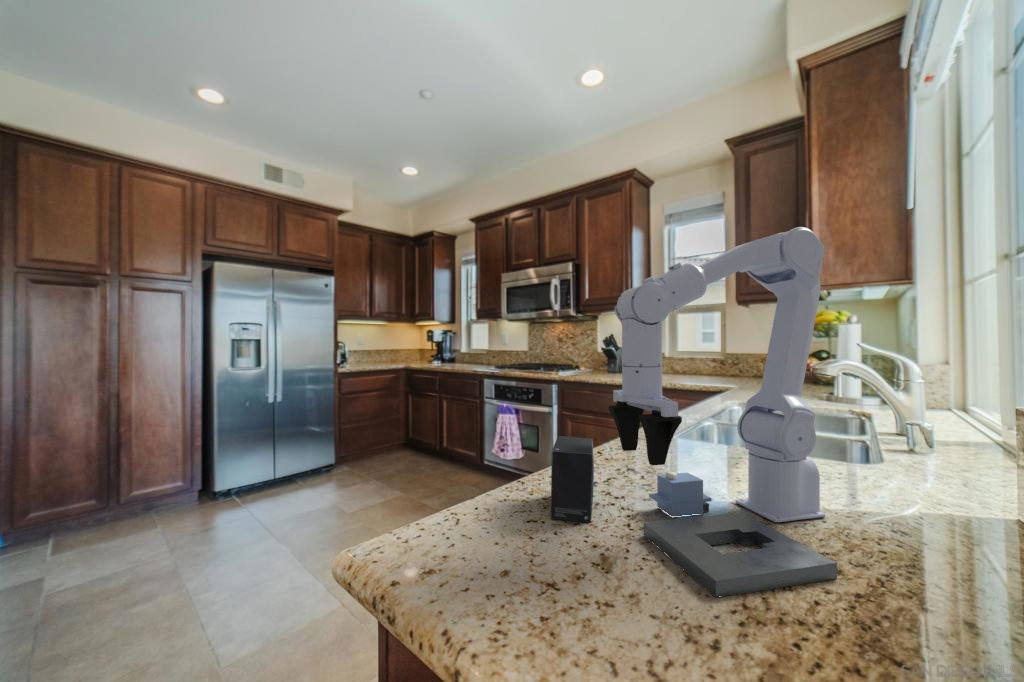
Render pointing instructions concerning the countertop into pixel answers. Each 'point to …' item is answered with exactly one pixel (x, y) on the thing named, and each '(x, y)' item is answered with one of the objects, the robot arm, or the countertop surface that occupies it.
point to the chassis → (738, 554)
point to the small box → (572, 479)
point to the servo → (680, 494)
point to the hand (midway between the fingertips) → (642, 456)
